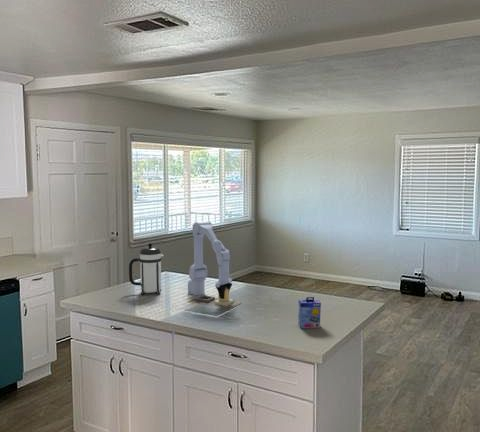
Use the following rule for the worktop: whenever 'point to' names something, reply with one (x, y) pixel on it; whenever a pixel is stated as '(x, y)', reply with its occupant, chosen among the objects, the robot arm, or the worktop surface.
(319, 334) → the worktop surface
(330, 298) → the worktop surface
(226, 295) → the plug
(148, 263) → the coffee press
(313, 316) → the ink cartridge box
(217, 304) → the pale green square frame
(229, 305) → the switch board
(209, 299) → the grey square frame
